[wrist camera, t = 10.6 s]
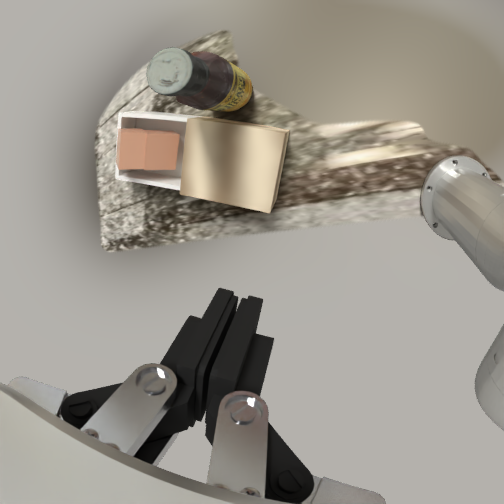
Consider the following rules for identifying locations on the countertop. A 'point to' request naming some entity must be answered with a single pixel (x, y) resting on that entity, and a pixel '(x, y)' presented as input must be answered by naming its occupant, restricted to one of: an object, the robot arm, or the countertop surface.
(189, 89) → the sauce bottle
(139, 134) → the block
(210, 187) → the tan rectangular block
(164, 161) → the block
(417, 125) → the countertop surface
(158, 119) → the box
